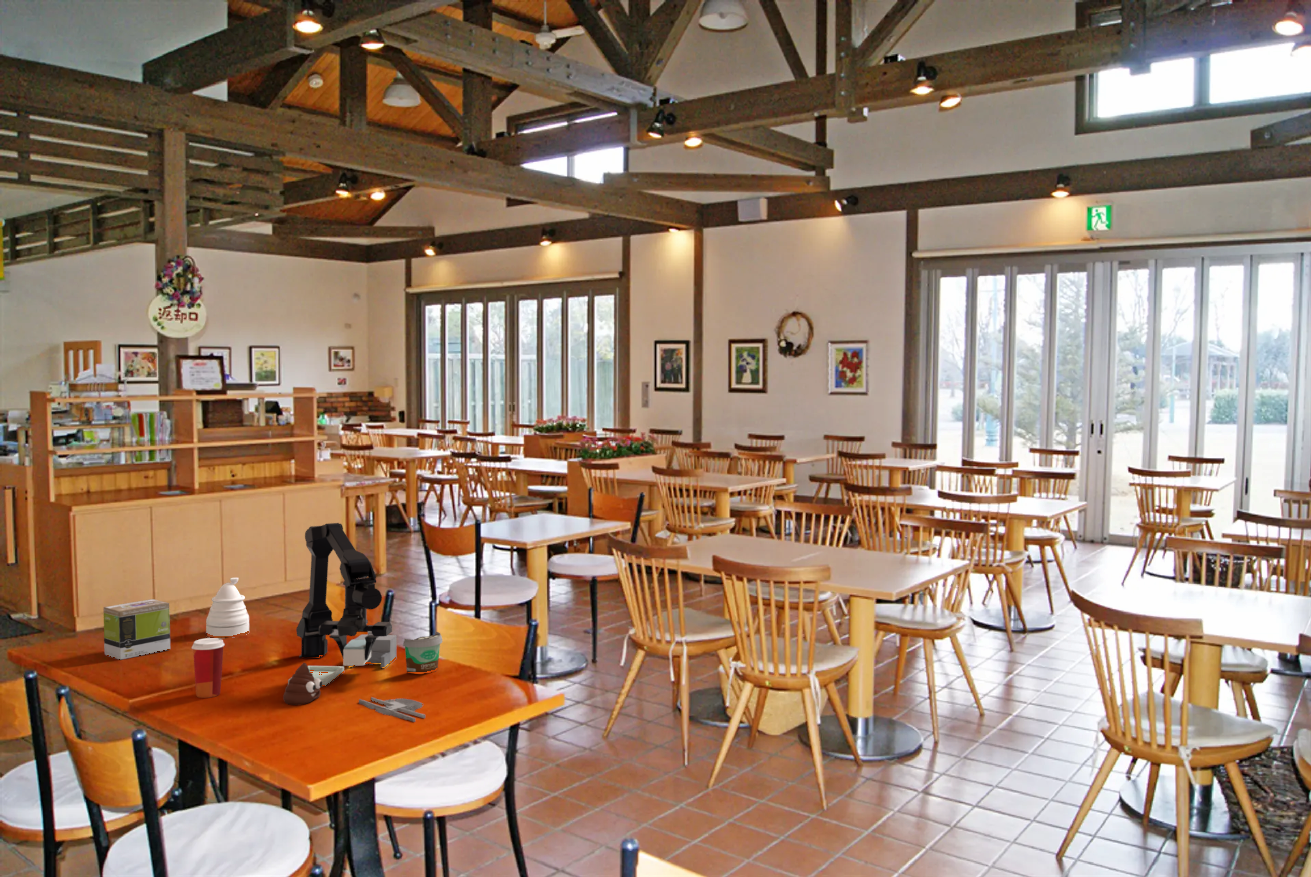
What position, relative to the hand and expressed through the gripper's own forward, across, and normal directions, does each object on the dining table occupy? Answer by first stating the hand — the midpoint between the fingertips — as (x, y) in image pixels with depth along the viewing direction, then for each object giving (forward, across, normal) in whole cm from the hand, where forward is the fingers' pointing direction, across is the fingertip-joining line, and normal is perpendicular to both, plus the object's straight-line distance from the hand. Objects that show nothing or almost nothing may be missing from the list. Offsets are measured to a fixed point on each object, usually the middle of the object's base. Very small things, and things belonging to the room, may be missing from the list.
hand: (355, 659), depth 264 cm
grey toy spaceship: (+6, +19, -26) cm, 33 cm away
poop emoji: (+5, -7, -20) cm, 22 cm away
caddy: (+1, 0, +2) cm, 3 cm away
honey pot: (+6, -58, +47) cm, 75 cm away
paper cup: (+5, -32, -18) cm, 37 cm away
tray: (+5, -10, -2) cm, 11 cm away
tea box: (+5, -73, +21) cm, 76 cm away
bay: (+5, 0, +15) cm, 16 cm away
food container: (+5, +18, +8) cm, 20 cm away
